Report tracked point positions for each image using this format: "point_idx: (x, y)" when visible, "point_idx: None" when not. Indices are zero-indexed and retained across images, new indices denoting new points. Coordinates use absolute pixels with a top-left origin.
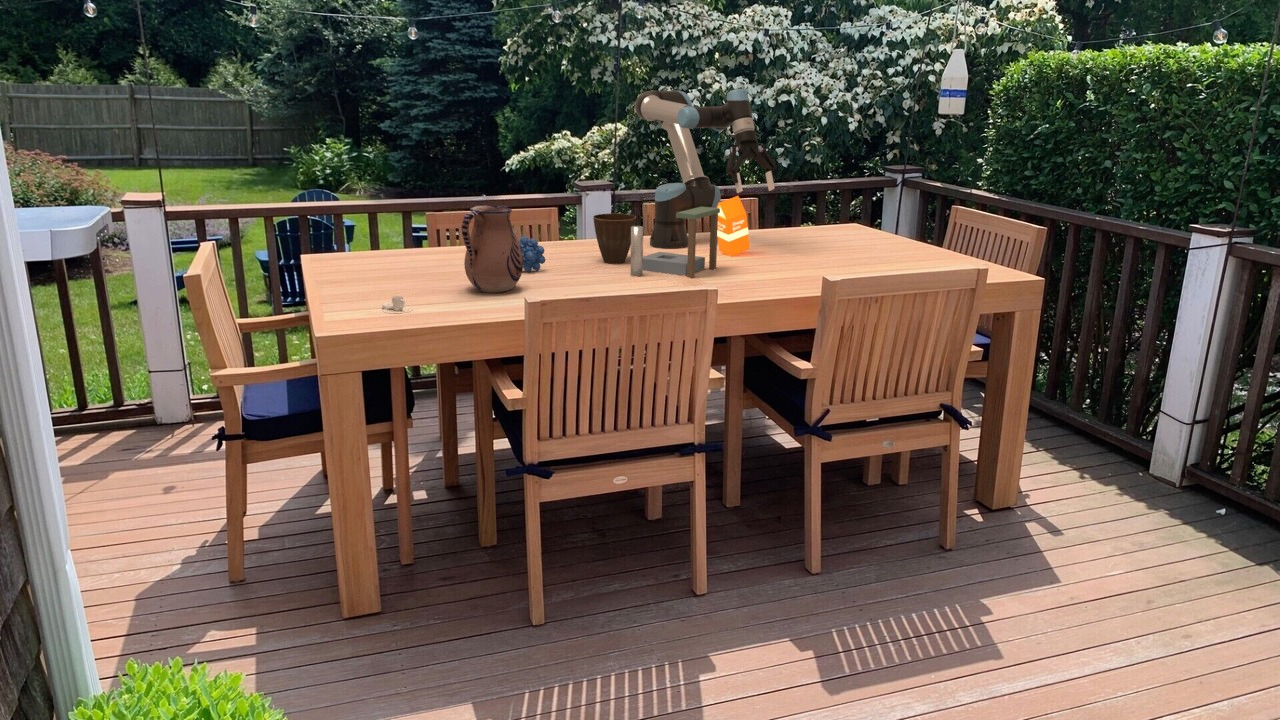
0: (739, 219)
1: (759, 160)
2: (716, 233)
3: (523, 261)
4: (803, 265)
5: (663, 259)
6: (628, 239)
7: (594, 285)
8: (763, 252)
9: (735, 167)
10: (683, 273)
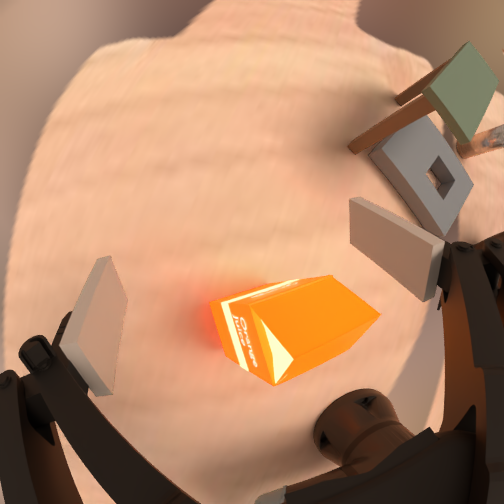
0: (272, 293)
1: (168, 479)
2: (393, 115)
3: None
4: (129, 140)
5: (447, 157)
6: (497, 237)
7: (490, 118)
8: (160, 325)
9: (482, 270)
10: None
